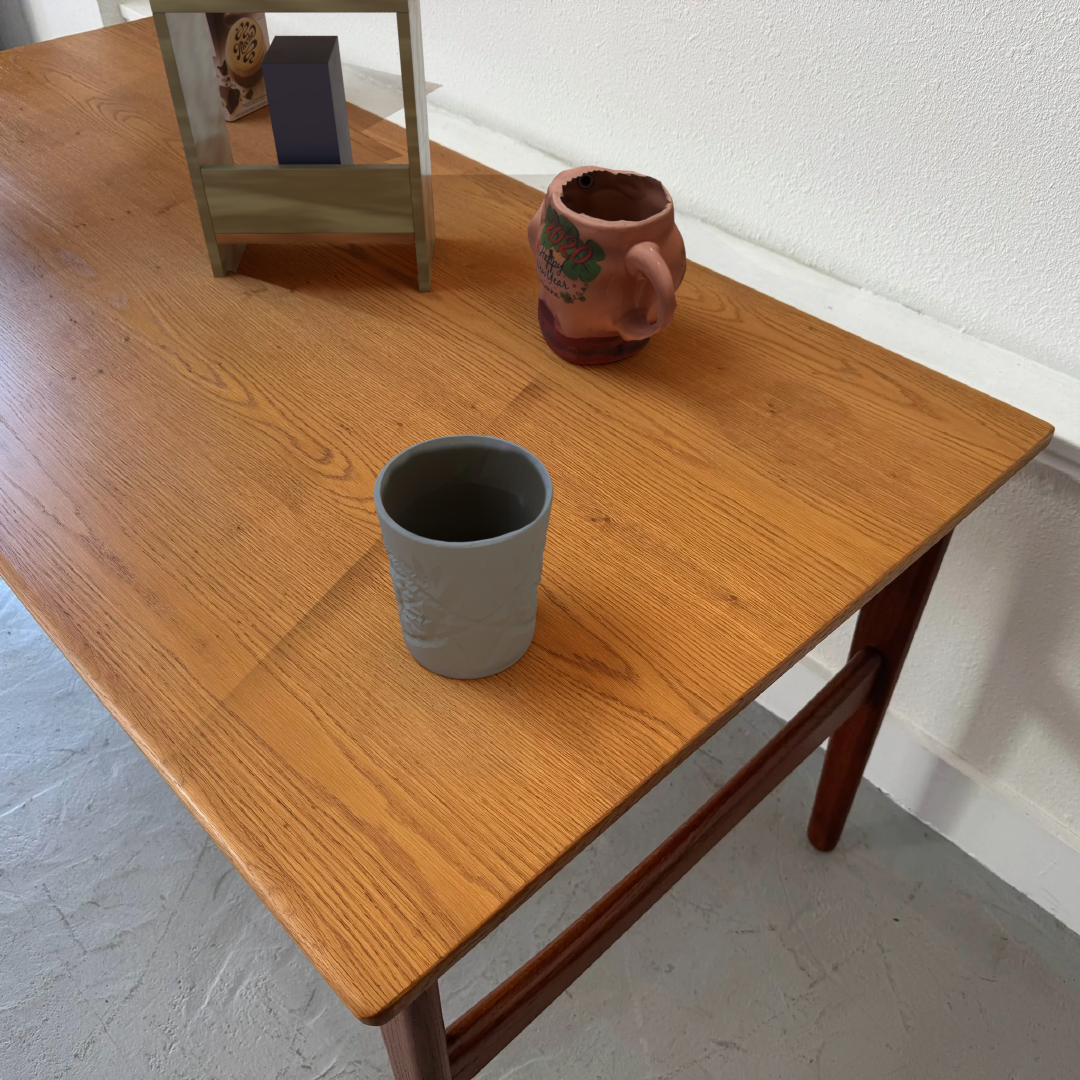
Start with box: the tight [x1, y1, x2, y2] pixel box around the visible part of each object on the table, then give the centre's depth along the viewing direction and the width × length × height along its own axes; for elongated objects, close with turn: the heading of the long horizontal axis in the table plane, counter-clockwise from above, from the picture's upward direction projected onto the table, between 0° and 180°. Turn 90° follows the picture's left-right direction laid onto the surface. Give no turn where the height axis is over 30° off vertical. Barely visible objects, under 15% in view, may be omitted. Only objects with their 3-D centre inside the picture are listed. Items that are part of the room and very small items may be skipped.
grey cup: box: [372, 433, 554, 680], centre depth 63 cm, size 10×10×12 cm
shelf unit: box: [148, 0, 437, 293], centre depth 92 cm, size 11×20×26 cm, turn 91°
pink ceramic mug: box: [526, 165, 687, 365], centre depth 86 cm, size 20×12×14 cm, turn 30°
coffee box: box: [204, 13, 271, 122], centre depth 125 cm, size 9×6×16 cm
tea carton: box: [261, 35, 354, 164], centre depth 92 cm, size 6×7×14 cm
